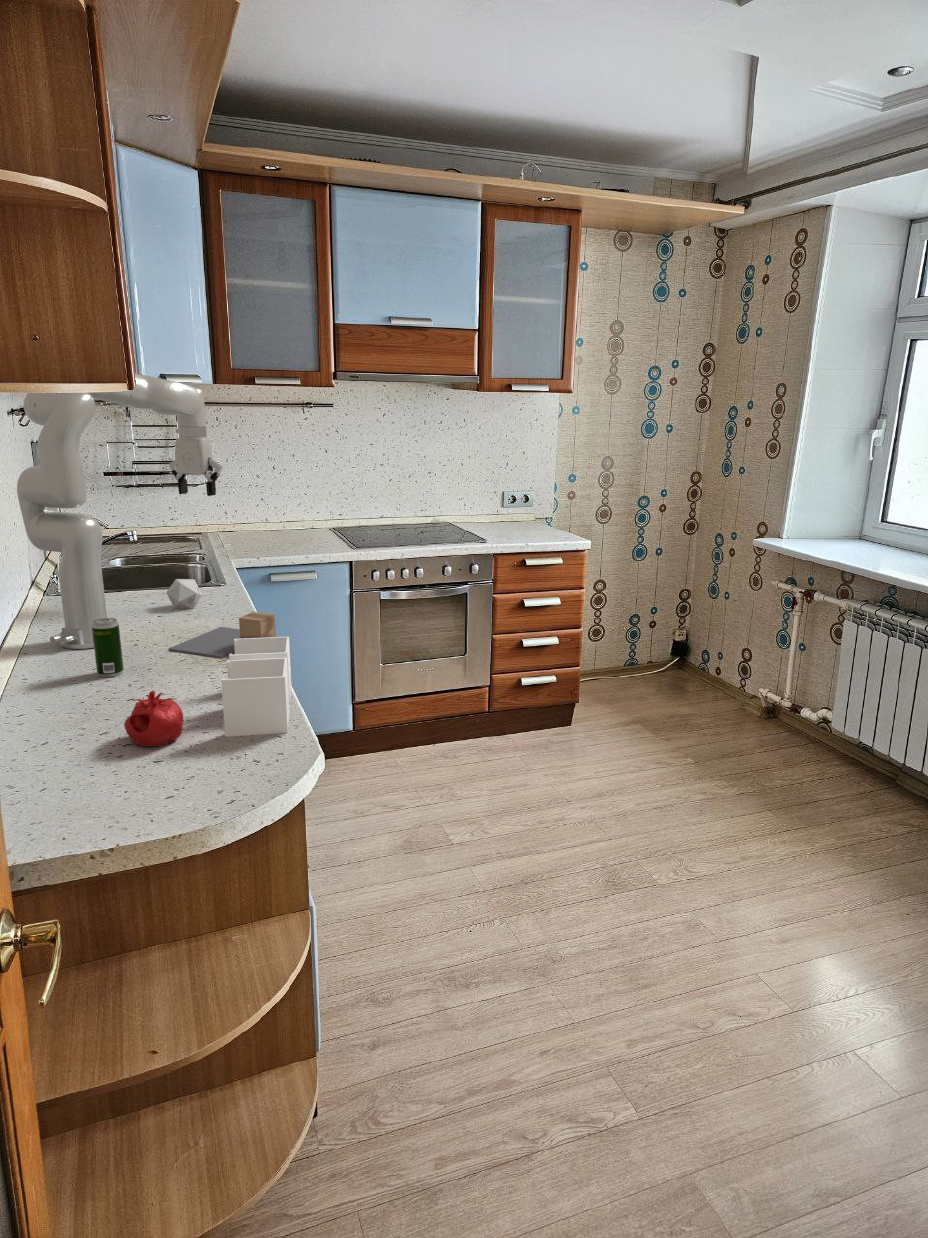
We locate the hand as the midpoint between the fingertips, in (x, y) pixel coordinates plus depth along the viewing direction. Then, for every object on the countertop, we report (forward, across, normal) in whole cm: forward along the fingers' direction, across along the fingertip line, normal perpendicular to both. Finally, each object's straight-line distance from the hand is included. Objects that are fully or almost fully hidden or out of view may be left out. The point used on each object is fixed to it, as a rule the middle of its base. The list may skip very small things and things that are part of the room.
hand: (197, 494), depth 230 cm
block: (+31, +41, -33) cm, 61 cm away
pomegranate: (+32, +55, -85) cm, 106 cm away
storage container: (+32, +64, -66) cm, 97 cm away
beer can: (+31, +22, -61) cm, 72 cm away
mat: (+31, +30, -33) cm, 54 cm away
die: (+31, 0, -9) cm, 33 cm away
